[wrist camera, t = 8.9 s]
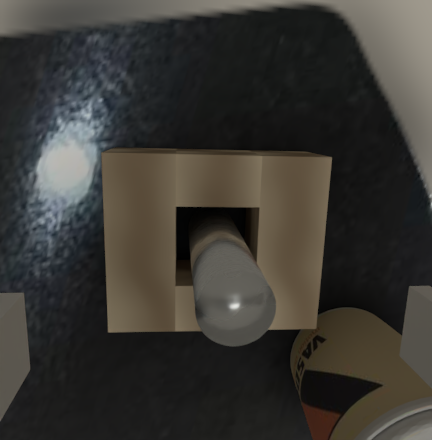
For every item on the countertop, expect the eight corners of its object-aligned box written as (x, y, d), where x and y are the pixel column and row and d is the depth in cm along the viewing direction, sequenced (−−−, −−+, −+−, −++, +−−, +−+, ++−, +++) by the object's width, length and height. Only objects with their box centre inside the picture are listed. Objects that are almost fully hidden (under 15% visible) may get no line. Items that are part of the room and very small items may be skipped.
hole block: (119, 298, 27) (108, 332, 23) (115, 147, 25) (101, 152, 20) (295, 297, 28) (316, 329, 24) (306, 151, 26) (332, 157, 22)
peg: (187, 250, 27) (194, 347, 15) (188, 205, 26) (195, 271, 14) (232, 249, 27) (273, 345, 15) (234, 205, 26) (278, 270, 15)
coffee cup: (285, 293, 28) (359, 413, 16) (413, 297, 29) (568, 414, 17) (271, 409, 30) (328, 589, 19) (391, 410, 31) (516, 582, 19)
